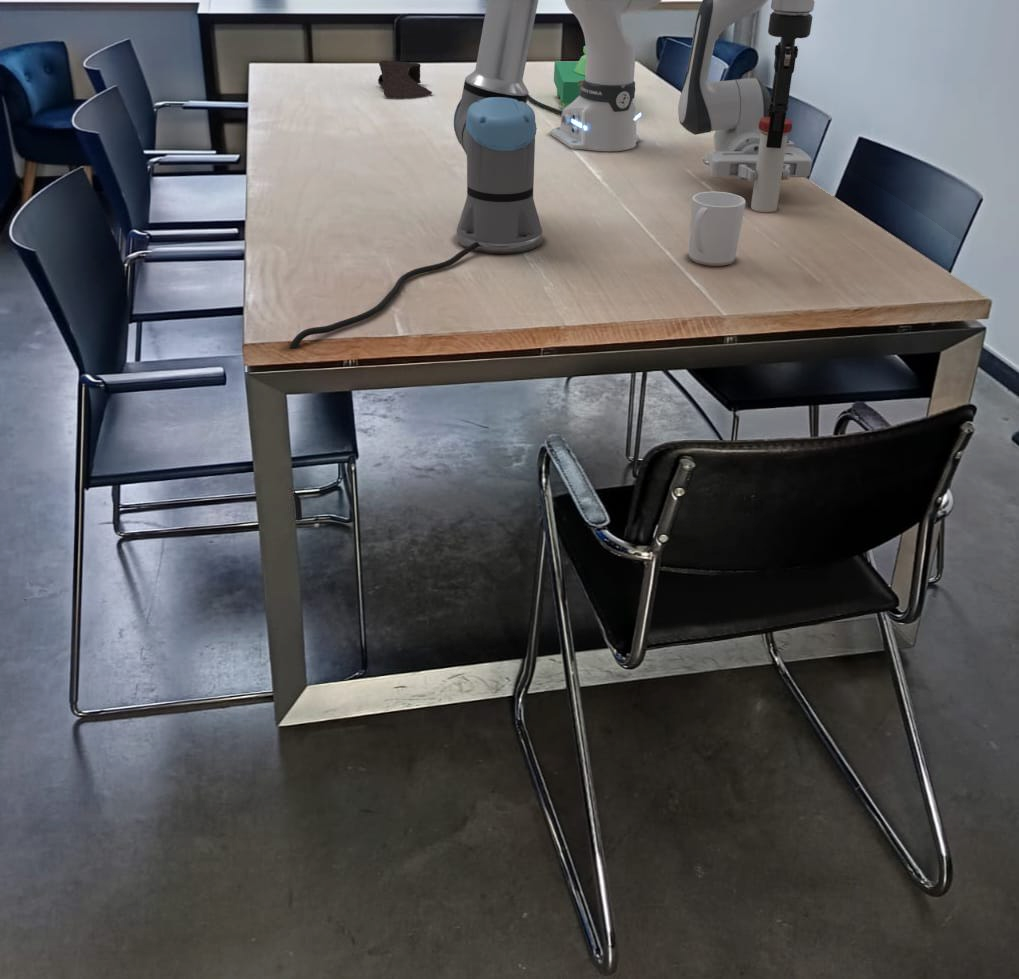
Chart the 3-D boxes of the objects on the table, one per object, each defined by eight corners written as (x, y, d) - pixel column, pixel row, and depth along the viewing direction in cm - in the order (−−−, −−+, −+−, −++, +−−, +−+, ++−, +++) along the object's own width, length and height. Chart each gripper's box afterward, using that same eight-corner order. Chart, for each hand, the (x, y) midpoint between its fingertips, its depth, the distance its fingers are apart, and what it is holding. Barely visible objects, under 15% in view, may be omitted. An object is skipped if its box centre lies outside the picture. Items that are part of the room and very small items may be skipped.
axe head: (443, 87, 294) (392, 77, 287) (436, 115, 299) (385, 106, 292) (421, 62, 307) (371, 52, 300) (414, 89, 311) (365, 80, 304)
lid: (769, 124, 211) (770, 115, 210) (797, 129, 208) (799, 120, 207) (752, 129, 207) (753, 120, 206) (780, 135, 204) (781, 126, 203)
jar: (774, 213, 213) (787, 129, 204) (748, 210, 214) (760, 127, 206) (778, 206, 217) (790, 123, 208) (753, 203, 218) (764, 121, 210)
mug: (702, 245, 195) (709, 188, 190) (747, 257, 190) (755, 198, 185) (669, 261, 188) (675, 202, 182) (714, 274, 183) (722, 213, 177)
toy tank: (616, 42, 301) (635, 67, 272) (613, 89, 308) (630, 118, 278) (553, 41, 300) (564, 66, 271) (550, 88, 307) (561, 117, 277)
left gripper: (816, 21, 188) (795, 157, 200) (810, 5, 204) (791, 132, 216) (771, 19, 189) (753, 154, 201) (769, 4, 205) (752, 130, 217)
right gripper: (701, 141, 220) (719, 159, 209) (800, 141, 222) (823, 159, 210) (698, 172, 224) (715, 192, 212) (795, 172, 225) (817, 191, 214)
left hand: (773, 142), depth 209 cm, fingers closed on lid, 6 cm apart
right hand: (770, 175), depth 211 cm, fingers closed on jar, 5 cm apart
